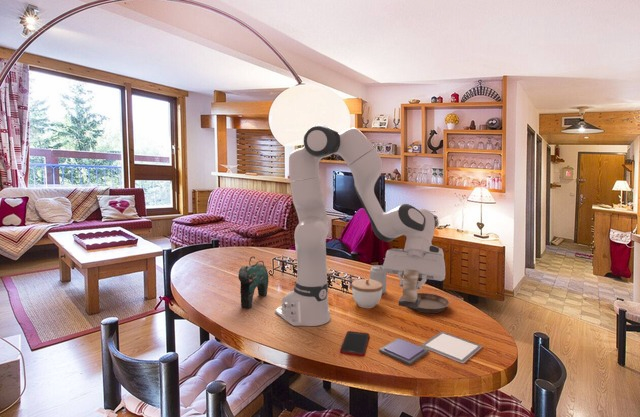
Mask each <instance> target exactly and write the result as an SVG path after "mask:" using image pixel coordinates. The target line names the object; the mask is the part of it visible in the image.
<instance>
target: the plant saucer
mask: <svg viewBox="0 0 640 417" xmlns="http://www.w3.org/2000/svg"><path fill="white" fill-rule="evenodd" d="M417 298H421V302H420V304H419V306H418V308H417V309H415V308H411V309H412V310H413V309H414V311H416V312H419V313H423V312H424V313H425V314H436V313H441V312H444V311H445V310H446V309H447V308H448V306H449V305H450V301H449V300H448V299H447V298H445V297H443V296H441V295H439V294H434V293H426V292H417Z"/></svg>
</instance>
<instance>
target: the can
mask: <svg viewBox="0 0 640 417" xmlns="http://www.w3.org/2000/svg"><path fill="white" fill-rule="evenodd" d="M387 274H388V273H386V272H385V271H384V269H383V265H382V264H381V265H378V264H377V265H375V264H374V265H371V268H370V273H369V279H370V280H375V281H378V282H380V283H382V285H383V288H382V295H383V294H385V293H386V292H387Z"/></svg>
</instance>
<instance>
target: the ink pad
mask: <svg viewBox="0 0 640 417" xmlns="http://www.w3.org/2000/svg"><path fill="white" fill-rule="evenodd" d="M378 351H379V353H382V354H384V355H386V356H388V357H390V358H393V359H395V360H397V361H399V362H402V363H404V364H406V365H408V366H412V364H414V363H415V362H417V361H418V360H420V359H421V358H422V357H424V356H425V355H427V354H428V353H429V351H430V350H428V349H426V348H423V347H421V345H418V344H415V343H412V342H410V341H407V340H405V339H403V338H400V337H398V338H396V339H395V340H392V341H391V342H389V343H388V344H386V345H384V346H382V347H380V348H379V349H378Z"/></svg>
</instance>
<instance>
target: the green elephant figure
mask: <svg viewBox="0 0 640 417" xmlns="http://www.w3.org/2000/svg"><path fill="white" fill-rule="evenodd" d="M252 258H253V259H256V257H255V256H251V257H250V258H249V262H248V263H249V264H248V265H249V266H248V265H242V266H241V267H240V268H239V271H238V280H239V281H240V307H241V308H242V309H246V310H249V309H251V308H252V306H253V301H254V300H253V299H254V295H255V291H256V288H257V293H258V294H257V295H258V297H263V298H265V297H266V296H267V295H268V287H269V273H268V268H267V267H266V266H265V262H264V261H263V260H259V261H257V262H256V263H254V264H252V265H251V260H252ZM259 263H261V264H259Z"/></svg>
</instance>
